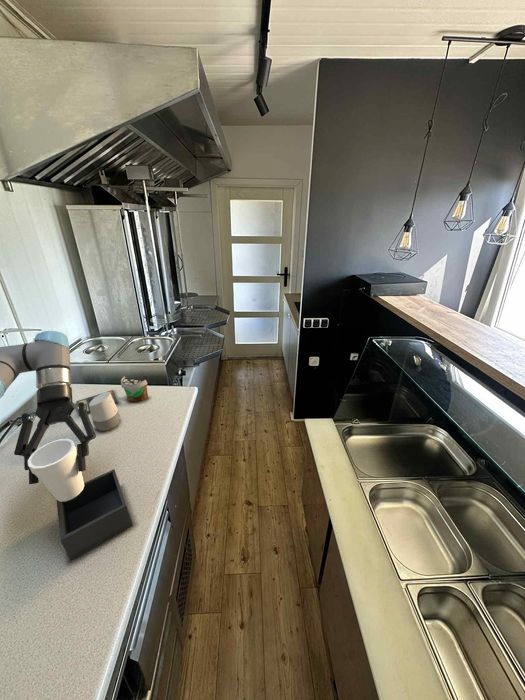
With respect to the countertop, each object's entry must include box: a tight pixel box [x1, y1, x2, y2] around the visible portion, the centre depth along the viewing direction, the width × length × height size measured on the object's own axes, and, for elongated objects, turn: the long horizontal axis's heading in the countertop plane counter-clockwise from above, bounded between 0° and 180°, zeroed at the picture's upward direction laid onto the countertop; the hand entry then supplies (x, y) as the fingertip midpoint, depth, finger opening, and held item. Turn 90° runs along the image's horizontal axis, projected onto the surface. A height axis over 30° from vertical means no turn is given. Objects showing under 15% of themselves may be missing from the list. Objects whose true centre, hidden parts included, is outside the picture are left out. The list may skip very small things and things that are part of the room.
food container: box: [120, 375, 149, 404], centre depth 127 cm, size 12×6×10 cm, turn 73°
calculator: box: [75, 389, 119, 417], centre depth 127 cm, size 12×1×15 cm
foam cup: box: [28, 438, 85, 502], centre depth 71 cm, size 10×9×13 cm
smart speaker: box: [89, 391, 121, 432], centre depth 111 cm, size 10×9×14 cm
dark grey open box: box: [55, 468, 134, 561], centre depth 77 cm, size 15×15×8 cm
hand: (58, 477), depth 69 cm, fingers closed on foam cup, 9 cm apart
